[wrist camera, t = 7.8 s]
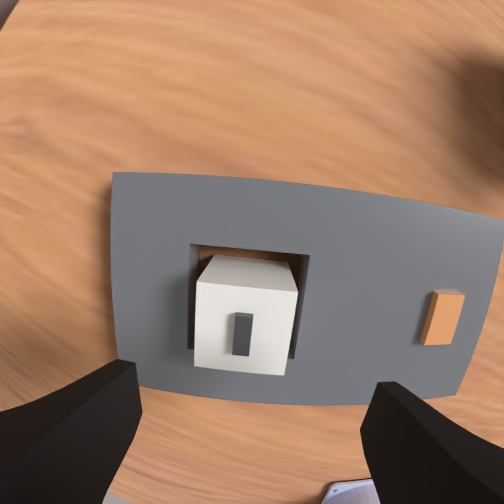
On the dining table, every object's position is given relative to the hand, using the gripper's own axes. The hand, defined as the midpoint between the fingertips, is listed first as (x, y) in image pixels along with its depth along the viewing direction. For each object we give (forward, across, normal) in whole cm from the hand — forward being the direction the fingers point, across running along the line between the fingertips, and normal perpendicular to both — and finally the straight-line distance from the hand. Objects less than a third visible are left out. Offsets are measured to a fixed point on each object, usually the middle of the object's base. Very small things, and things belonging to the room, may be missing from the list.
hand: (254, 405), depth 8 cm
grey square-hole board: (+9, -3, 0) cm, 10 cm away
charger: (+9, +1, 0) cm, 9 cm away
